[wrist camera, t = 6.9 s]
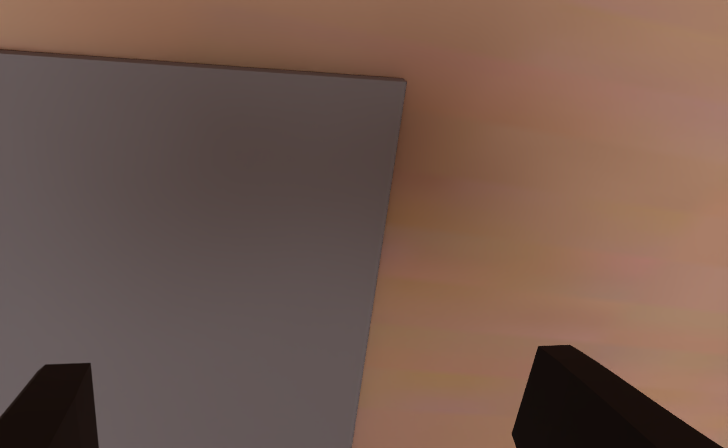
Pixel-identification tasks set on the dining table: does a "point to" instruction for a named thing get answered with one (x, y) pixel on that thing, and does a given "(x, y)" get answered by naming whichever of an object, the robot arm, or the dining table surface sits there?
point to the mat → (194, 243)
